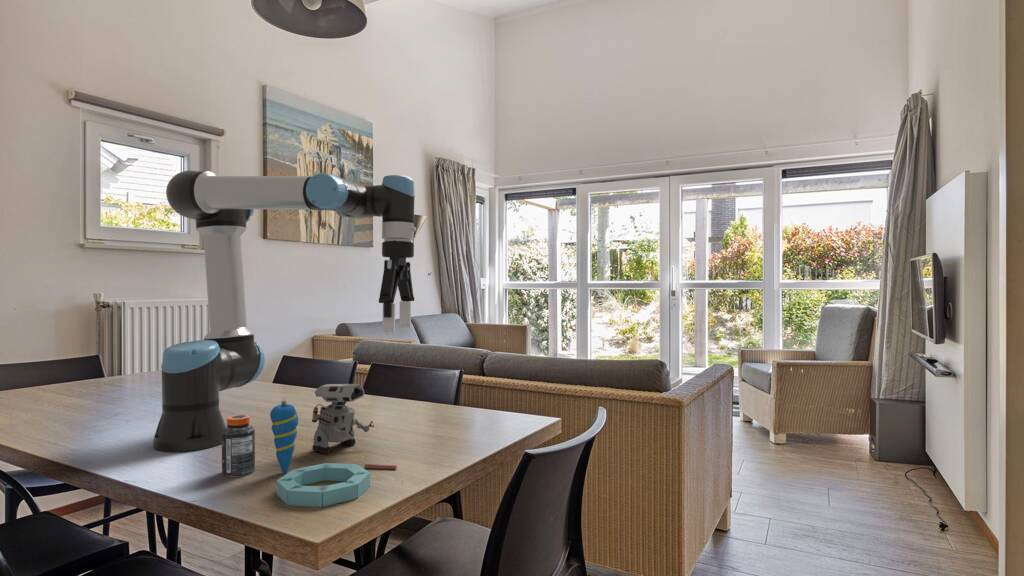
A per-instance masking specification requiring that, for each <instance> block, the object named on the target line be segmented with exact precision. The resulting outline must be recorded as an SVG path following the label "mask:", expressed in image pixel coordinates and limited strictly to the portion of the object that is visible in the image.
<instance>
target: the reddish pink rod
mask: <svg viewBox="0 0 1024 576" xmlns="http://www.w3.org/2000/svg"><path fill="white" fill-rule="evenodd" d="M363 467H364V469H378V470H397V468H398V465H396V464H377V463H376V464H373V463H365V464H364V466H363Z"/></svg>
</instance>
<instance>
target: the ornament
mask: <svg viewBox="0 0 1024 576" xmlns="http://www.w3.org/2000/svg"><path fill="white" fill-rule="evenodd" d="M280 402H281V403H280V404H279V405H275V406H274V407H273V408H271V411H270V413H269V414H270V415H269V417H270V421H271V423H272V424H271V430H272V431H271V432H272V433H273V436H274V439H273V441H274V442H273V443H274V447H275V449H276V452H275V456H276V459H277V461H278V464H279V467H280V469H281V471H282V474H283V475H286V474H287V473H288V470H289V468H290V465H291V462H292V459H293V455H294V452H295V447H296V445H295V440H296V439H297V438H296V437H297V435H298V431H297V428H298V427H297V426H298V424H299V416H298V413H297V411H296V408H295V406H294V405H292V404H288V403H287V400H286V398H285V397H283V400H281V401H280Z"/></svg>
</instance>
